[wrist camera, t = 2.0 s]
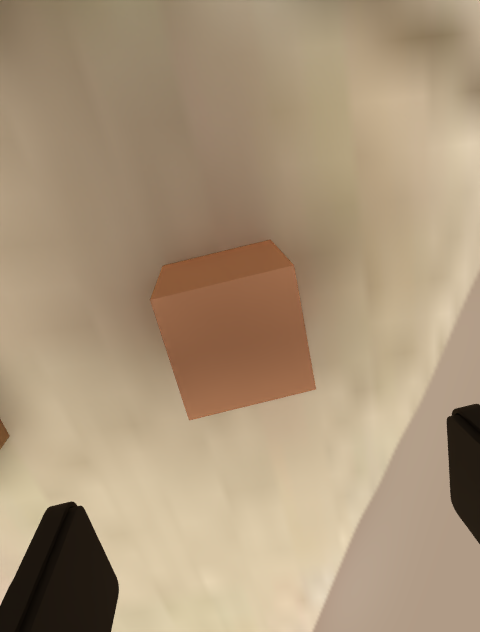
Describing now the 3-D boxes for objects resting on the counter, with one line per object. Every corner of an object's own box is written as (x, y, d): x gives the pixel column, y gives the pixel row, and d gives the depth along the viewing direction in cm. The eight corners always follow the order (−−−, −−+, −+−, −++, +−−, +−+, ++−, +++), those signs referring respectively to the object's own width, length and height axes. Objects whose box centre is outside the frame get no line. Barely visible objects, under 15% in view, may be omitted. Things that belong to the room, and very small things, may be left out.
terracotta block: (162, 265, 22) (150, 300, 16) (270, 239, 22) (293, 265, 16) (191, 360, 24) (189, 420, 19) (289, 337, 24) (315, 389, 19)
